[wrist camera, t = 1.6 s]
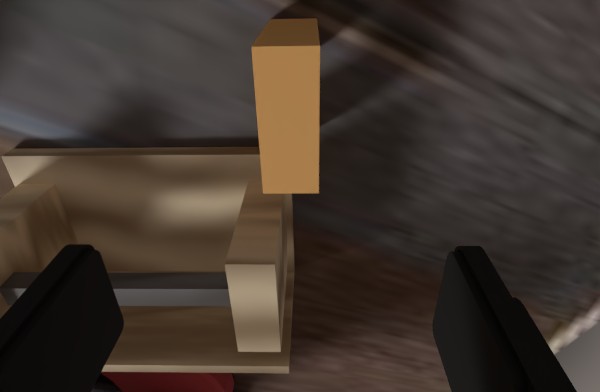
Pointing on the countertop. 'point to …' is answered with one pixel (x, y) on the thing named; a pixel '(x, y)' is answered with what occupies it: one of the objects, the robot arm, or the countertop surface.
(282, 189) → the upright wooden block
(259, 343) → the wooden vise
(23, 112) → the countertop surface
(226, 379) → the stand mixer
